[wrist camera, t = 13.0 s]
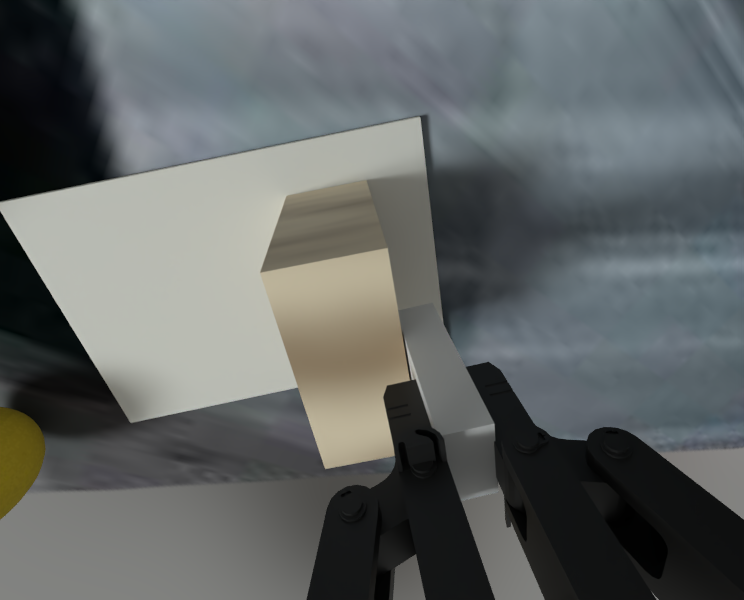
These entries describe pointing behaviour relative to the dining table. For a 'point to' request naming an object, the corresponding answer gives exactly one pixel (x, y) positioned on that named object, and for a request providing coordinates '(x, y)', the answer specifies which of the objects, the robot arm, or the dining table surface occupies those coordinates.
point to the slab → (337, 318)
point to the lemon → (18, 456)
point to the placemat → (211, 261)
